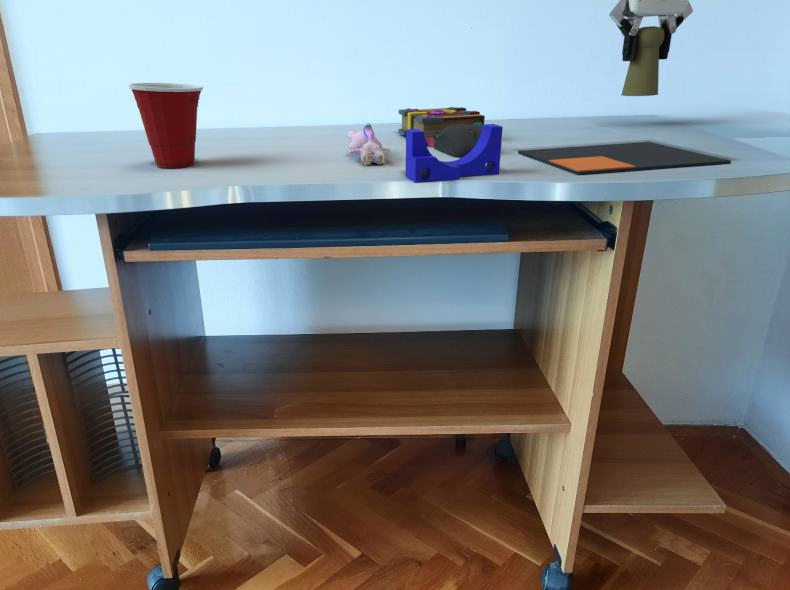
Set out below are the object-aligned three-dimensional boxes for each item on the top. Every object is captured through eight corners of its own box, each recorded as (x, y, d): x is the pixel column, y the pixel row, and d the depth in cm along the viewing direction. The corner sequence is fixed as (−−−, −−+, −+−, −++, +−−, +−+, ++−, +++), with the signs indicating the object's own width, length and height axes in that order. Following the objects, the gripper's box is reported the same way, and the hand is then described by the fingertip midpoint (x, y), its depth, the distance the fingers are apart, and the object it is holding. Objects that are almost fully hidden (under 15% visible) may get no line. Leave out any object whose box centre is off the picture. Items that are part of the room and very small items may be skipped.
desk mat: (647, 144, 102) (648, 140, 101) (730, 163, 86) (731, 158, 85) (517, 153, 99) (518, 149, 98) (578, 175, 83) (578, 170, 82)
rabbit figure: (396, 174, 93) (376, 142, 106) (398, 133, 90) (377, 105, 102) (354, 177, 93) (338, 145, 105) (354, 136, 89) (338, 107, 101)
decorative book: (455, 131, 122) (456, 103, 120) (487, 143, 108) (489, 112, 106) (397, 134, 121) (398, 106, 119) (422, 147, 107) (423, 115, 104)
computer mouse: (457, 158, 96) (458, 130, 95) (431, 147, 106) (432, 122, 105) (496, 155, 98) (498, 127, 96) (467, 144, 107) (468, 119, 106)
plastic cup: (208, 169, 95) (198, 83, 90) (135, 173, 95) (120, 86, 90) (215, 157, 105) (206, 78, 100) (148, 160, 105) (136, 81, 99)
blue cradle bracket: (415, 182, 82) (416, 133, 79) (405, 175, 86) (406, 129, 83) (503, 175, 84) (507, 127, 81) (490, 169, 88) (493, 123, 85)
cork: (615, 95, 115) (623, 27, 110) (630, 93, 119) (639, 27, 114) (649, 96, 111) (659, 25, 106) (663, 93, 115) (674, 25, 110)
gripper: (627, -64, 100) (611, 63, 108) (725, -66, 103) (703, 57, 110) (601, -56, 107) (588, 62, 115) (693, -59, 109) (674, 57, 117)
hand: (644, 59), depth 112 cm, fingers closed on cork, 5 cm apart
